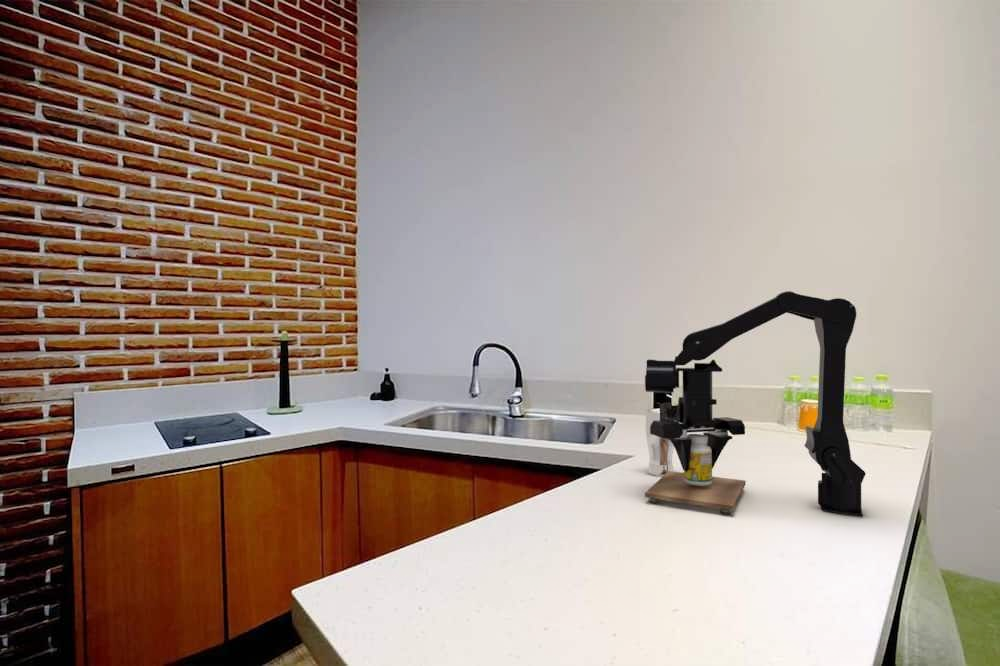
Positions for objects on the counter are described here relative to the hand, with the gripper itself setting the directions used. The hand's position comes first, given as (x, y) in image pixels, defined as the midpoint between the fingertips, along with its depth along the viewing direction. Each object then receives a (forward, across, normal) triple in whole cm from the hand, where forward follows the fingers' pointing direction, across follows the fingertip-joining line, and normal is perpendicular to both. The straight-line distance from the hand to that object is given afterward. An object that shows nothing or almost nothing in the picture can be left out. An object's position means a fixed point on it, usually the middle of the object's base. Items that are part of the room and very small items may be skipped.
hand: (697, 469), depth 110 cm
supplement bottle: (+3, 0, 0) cm, 3 cm away
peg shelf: (+5, 0, 0) cm, 5 cm away
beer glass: (+6, -3, -18) cm, 20 cm away
